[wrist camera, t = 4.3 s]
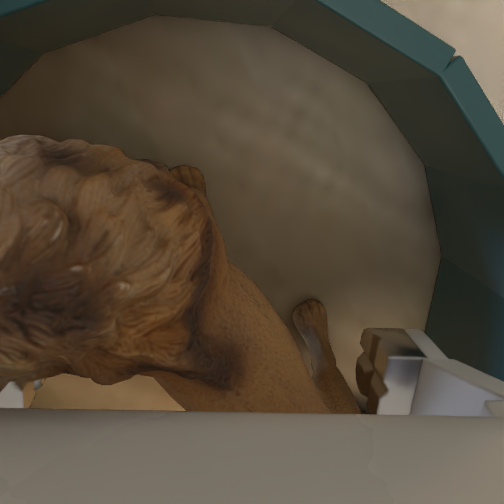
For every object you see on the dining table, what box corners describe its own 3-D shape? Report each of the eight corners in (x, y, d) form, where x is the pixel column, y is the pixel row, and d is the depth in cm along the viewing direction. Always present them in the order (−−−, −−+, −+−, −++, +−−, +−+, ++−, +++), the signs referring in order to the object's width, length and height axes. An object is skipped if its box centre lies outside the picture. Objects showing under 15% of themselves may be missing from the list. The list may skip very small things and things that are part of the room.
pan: (-42, 529, 17) (-122, 669, 13) (-141, -119, 11) (-360, -253, 7) (396, 522, 19) (449, 642, 15) (525, -34, 13) (681, -97, 9)
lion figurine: (-19, 206, 14) (-385, 383, 5) (92, 65, 13) (-133, 2, 4) (321, 454, 18) (425, 778, 9) (423, 361, 17) (642, 628, 8)
